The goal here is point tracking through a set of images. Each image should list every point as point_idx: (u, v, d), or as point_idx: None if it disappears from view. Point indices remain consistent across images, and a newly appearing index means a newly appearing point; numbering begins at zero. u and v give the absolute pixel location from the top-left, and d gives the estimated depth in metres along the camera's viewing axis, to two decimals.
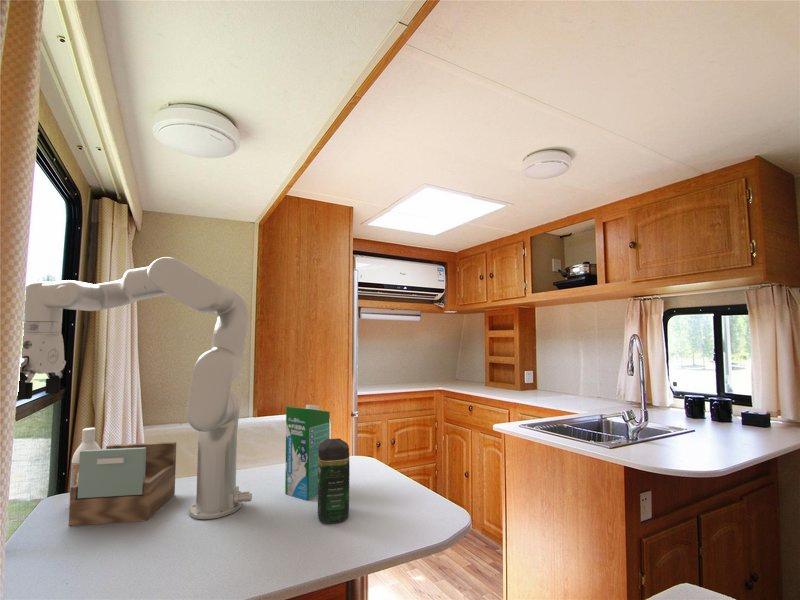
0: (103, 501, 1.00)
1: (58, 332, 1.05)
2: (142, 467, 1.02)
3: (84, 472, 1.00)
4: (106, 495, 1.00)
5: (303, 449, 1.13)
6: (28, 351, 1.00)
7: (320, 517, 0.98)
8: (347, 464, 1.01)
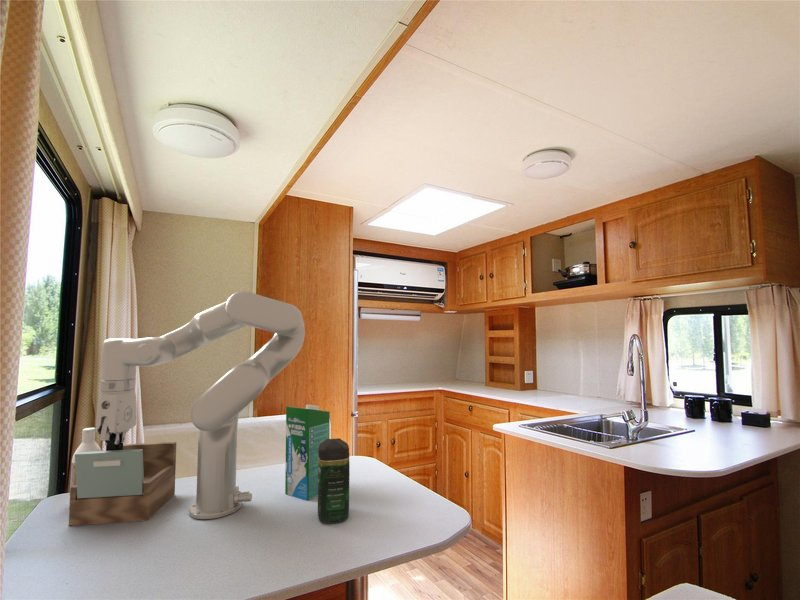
0: (103, 501, 1.00)
1: (133, 389, 1.04)
2: (140, 469, 1.01)
3: (82, 474, 0.99)
4: (106, 495, 1.00)
5: (303, 449, 1.13)
6: (106, 411, 0.98)
7: (320, 517, 0.98)
8: (347, 464, 1.01)
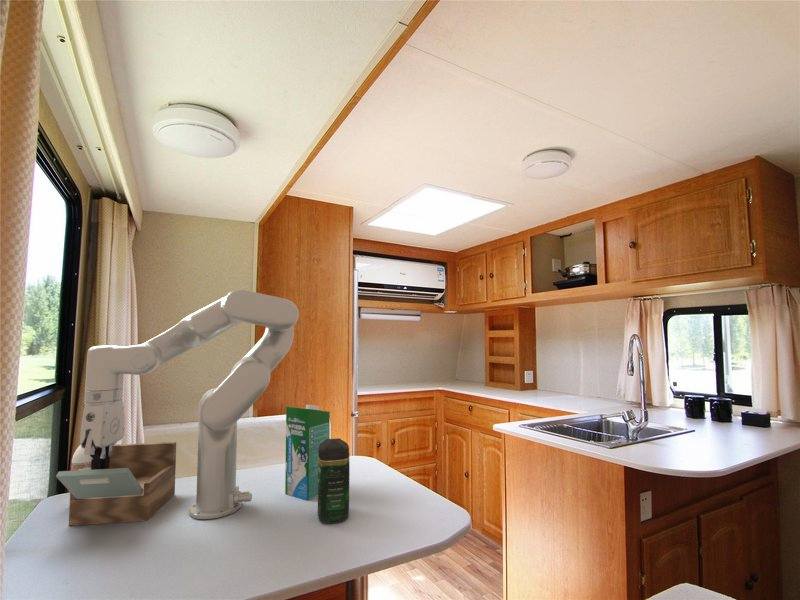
0: (103, 501, 1.00)
1: (120, 399, 0.98)
2: (132, 482, 0.97)
3: (72, 486, 0.95)
4: (105, 496, 1.00)
5: (303, 449, 1.13)
6: (91, 424, 0.92)
7: (320, 517, 0.98)
8: (347, 464, 1.01)
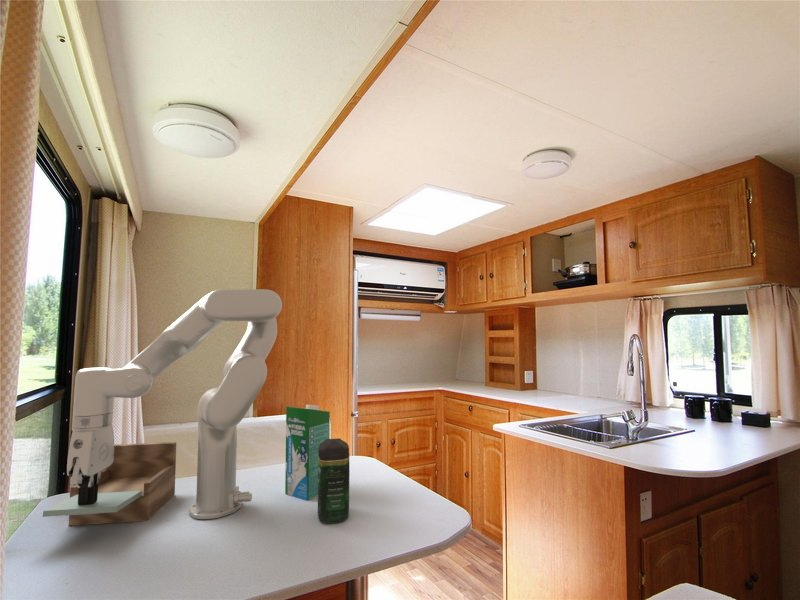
0: None
1: (110, 424, 0.94)
2: (126, 504, 0.94)
3: None
4: None
5: (303, 449, 1.13)
6: (79, 451, 0.88)
7: (320, 517, 0.98)
8: (347, 464, 1.01)
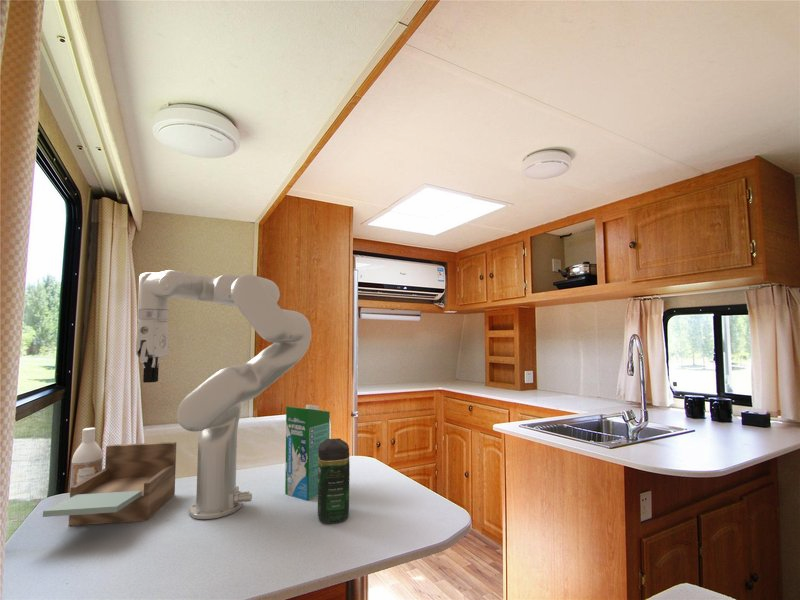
0: None
1: (167, 319, 1.15)
2: (126, 504, 0.94)
3: None
4: None
5: (303, 449, 1.13)
6: (145, 336, 1.09)
7: (320, 517, 0.98)
8: (347, 464, 1.01)
